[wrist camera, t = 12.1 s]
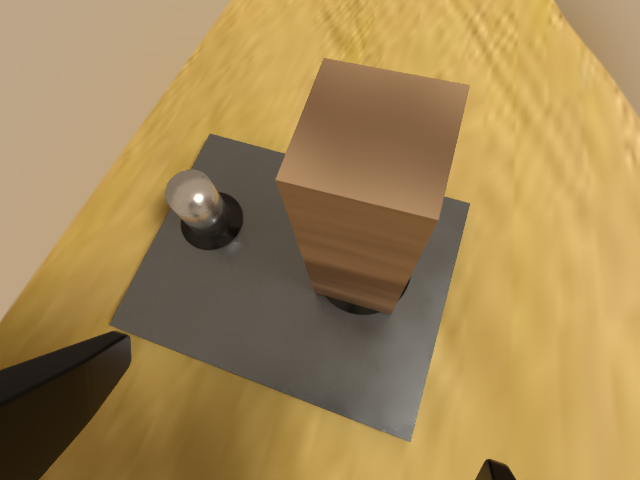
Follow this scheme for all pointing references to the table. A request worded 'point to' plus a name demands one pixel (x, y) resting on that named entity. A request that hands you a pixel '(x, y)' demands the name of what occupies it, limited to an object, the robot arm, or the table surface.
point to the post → (369, 177)
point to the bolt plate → (282, 296)
